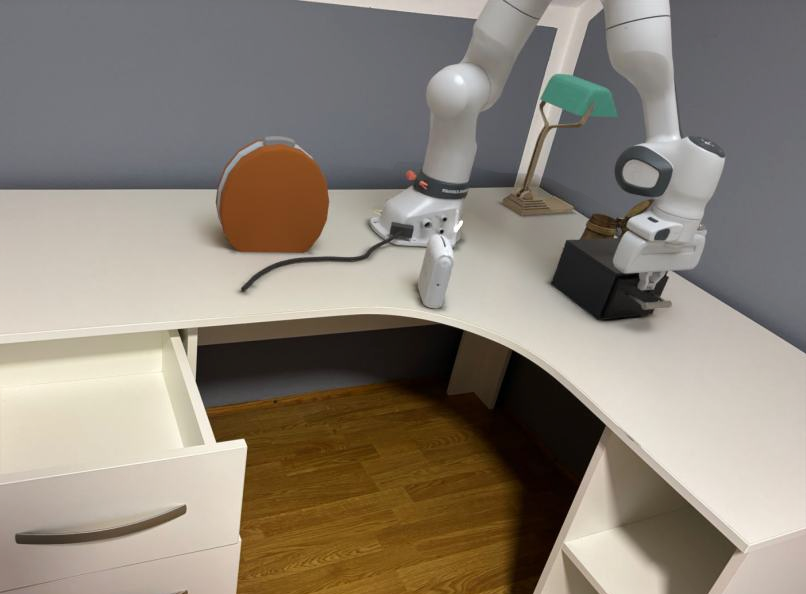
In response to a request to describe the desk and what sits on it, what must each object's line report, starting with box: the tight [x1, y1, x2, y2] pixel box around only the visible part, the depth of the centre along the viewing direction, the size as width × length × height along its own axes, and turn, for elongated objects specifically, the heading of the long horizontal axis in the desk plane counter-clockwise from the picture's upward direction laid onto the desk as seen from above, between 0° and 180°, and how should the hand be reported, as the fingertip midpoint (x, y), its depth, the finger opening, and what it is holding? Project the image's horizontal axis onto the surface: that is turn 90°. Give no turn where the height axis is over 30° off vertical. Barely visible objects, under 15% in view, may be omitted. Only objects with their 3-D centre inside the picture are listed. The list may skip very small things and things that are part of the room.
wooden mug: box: [579, 198, 655, 240], centre depth 165 cm, size 9×14×18 cm, turn 77°
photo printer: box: [417, 234, 455, 309], centre depth 137 cm, size 10×4×12 cm, turn 3°
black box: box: [550, 237, 669, 320], centre depth 150 cm, size 16×15×11 cm
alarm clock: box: [215, 135, 330, 254], centre depth 143 cm, size 22×10×23 cm, turn 108°
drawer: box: [602, 275, 673, 320], centre depth 146 cm, size 20×13×9 cm
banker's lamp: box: [501, 73, 619, 217], centre depth 190 cm, size 16×21×35 cm
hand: (644, 288), depth 141 cm, fingers closed, pressing on drawer
